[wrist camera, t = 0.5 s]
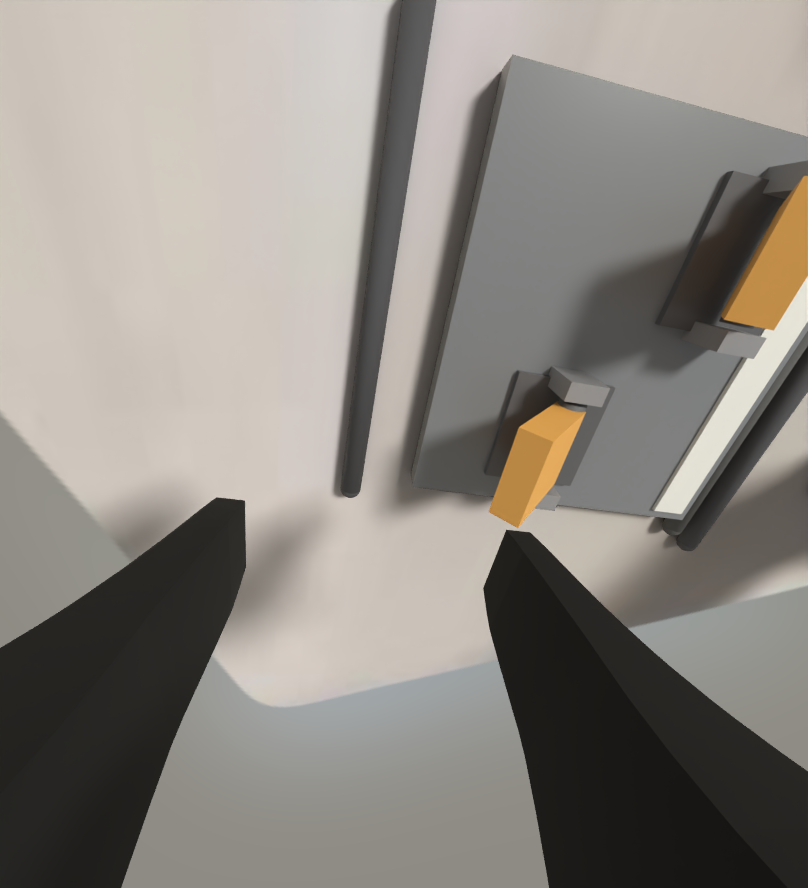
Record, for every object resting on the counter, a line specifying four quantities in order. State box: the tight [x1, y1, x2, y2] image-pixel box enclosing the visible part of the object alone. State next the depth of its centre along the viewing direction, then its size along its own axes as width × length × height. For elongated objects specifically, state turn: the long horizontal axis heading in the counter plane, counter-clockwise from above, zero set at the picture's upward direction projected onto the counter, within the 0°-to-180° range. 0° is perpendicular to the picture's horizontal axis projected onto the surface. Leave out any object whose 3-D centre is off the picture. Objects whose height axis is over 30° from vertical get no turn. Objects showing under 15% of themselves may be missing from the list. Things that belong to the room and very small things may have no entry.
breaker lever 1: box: [489, 398, 587, 528], centre depth 15 cm, size 1×4×5 cm
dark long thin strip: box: [662, 331, 808, 536], centre depth 18 cm, size 1×17×1 cm, turn 169°
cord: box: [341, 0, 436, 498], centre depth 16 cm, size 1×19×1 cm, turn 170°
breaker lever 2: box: [719, 176, 808, 331], centre depth 12 cm, size 1×4×5 cm
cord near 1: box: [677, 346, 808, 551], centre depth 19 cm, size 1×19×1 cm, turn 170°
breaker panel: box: [411, 55, 808, 520], centre depth 16 cm, size 15×16×3 cm
